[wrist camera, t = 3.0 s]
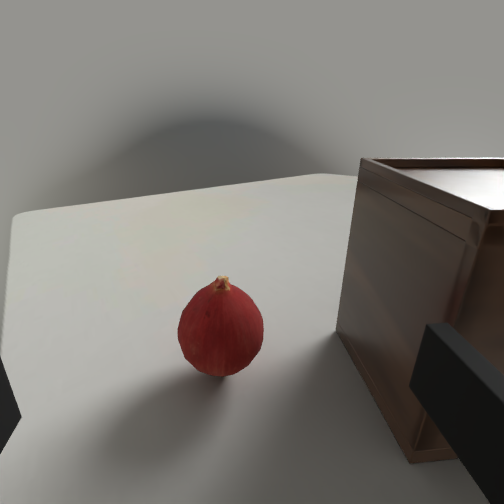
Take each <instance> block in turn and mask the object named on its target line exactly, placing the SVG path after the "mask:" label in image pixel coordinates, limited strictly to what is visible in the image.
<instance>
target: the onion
mask: <svg viewBox="0 0 504 504" xmlns="http://www.w3.org/2000/svg"><path fill="white" fill-rule="evenodd" d="M263 332H264V328H263V319H262V316H261V313H260V311H259V310H258V308H257V306H256V305H255V303H254V302H253V300H252V299H251V298H250V296H249V295H247V294H246V293H245V292H243V291H242V290H241V289H239V288H238V287H236V286H234V285H231V284H230V283H229V280H228V277H227V276H218V277H217V278H216V280H215V281H214V282H212V283H211V284H210V285H208V286H206V287H204V288H202V289H201V290H199V291H198V292H197V293H196V294H195V295H194V296H193V298H192V299H191V300H190V302H189V303H188V305H187V306H186V307H185V309H184V310H183V312H182V315H181V318H180V322H179V326H178V341H179V343H180V346H181V349H182V352H183V354H184V357H185V359H186V360H187V361H189V362H190V363H191V364H192V365H193V366H194V367H195V368H196V369H197V370H198V371H200V372H203V373H205V374H208V375H212V376H221V377H224V376H228V375H233V374H235V373H237V372H239V371H241V370H242V369H244V368H245V367H247V366H248V365H249V364H250V363H251V361H252V360H253V359H254V357H255V356H256V355H257V353H258V352H259V351H260V349H261V345H262V342H263Z"/></svg>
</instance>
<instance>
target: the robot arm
mask: <svg viewBox="0 0 504 504" xmlns="http://www.w3.org/2000/svg"><path fill="white" fill-rule="evenodd" d="M409 388H410V389H411V391H412V392H413V394H414V395H415V396H416V398H417V399H418V401H419V402H420V404H421V405H422V406H423V408H424V409H425V411H426V412H427V414H428V415H429V416H430V418H431V419H432V421H433V422H434V424H435V425H436V426H437V428H438V429H439V431H440V432H441V434H442V435H443V436H444V438H445V439H446V441H447V442H448V444H449V445H450V446H451V448H452V449H453V451H454V452H455V454H456V455H457V456H458V458H459V459H460V461H461V462H462V464H463V465H464V466H465V468H466V469H467V471H468V472H469V474H470V475H471V476H472V478H473V479H474V481H475V482H476V484H477V485H478V487H479V488H480V489H481V491H482V492H483V494H484V495H485V497H486V498H487V499H488V501H489V502H490V504H504V375H503V374H502V373H501V372H500V371H499V370H498V369H497V368H496V367H495V366H493V365H492V364H491V363H490V362H489V361H488V360H487V359H486V358H485V357H484V356H483V355H482V354H481V353H480V352H478V351H477V350H476V349H475V348H474V347H473V346H472V345H471V344H470V343H469V342H468V341H467V340H466V339H465V338H463V337H462V336H461V335H460V334H459V333H458V332H457V331H456V330H455V329H454V328H453V327H452V326H451V325H450V324H448V323H433V324H426V326H425V330H424V333H423V337H422V341H421V344H420V348H419V351H418V355H417V358H416V362H415V365H414V369H413V372H412V376H411V380H410V383H409ZM20 419H21V414H20V411H19V408H18V405H17V402H16V400H15V397H14V394H13V391H12V388H11V386H10V383H9V380H8V377H7V374H6V371H5V369H4V366H3V363H2V360H1V357H0V454H1V452H2V450H3V448H4V447H5V445H6V443H7V442H8V440H9V438H10V436H11V435H12V433H13V431H14V429H15V428H16V426H17V424H18V423H19V421H20Z"/></svg>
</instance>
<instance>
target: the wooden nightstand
mask: <svg viewBox="0 0 504 504" xmlns="http://www.w3.org/2000/svg"><path fill="white" fill-rule="evenodd" d="M433 323H448V324H450V325H451V326H452V327H453V328H454V329H455V330H456V331H457V332H458V333H459V334H460V335H461V336H462V337H463V338H465V339H466V340H467V341H468V342H469V343H470V344H471V345H472V346H473V347H474V348H475V349H476V350H477V351H478V352H480V353H481V354H482V355H483V356H484V357H485V358H486V359H487V360H488V361H489V362H490V363H491V364H492V365H493V366H495V367H496V368H497V369H498V370H499V371H500V372H501V373H502V374H503V375H504V158H361V161H360V168H359V175H358V181H357V188H356V195H355V201H354V208H353V215H352V222H351V229H350V236H349V242H348V249H347V256H346V263H345V270H344V277H343V283H342V290H341V297H340V304H339V311H338V318H337V324H336V331H337V333H338V335H339V337H340V338H341V340H342V342H343V344H344V346H345V347H346V349H347V351H348V353H349V355H350V356H351V358H352V360H353V362H354V364H355V365H356V367H357V369H358V371H359V373H360V375H361V376H362V378H363V380H364V382H365V384H366V385H367V387H368V389H369V391H370V393H371V394H372V396H373V398H374V400H375V402H376V403H377V405H378V407H379V409H380V411H381V413H382V414H383V416H384V418H385V420H386V422H387V423H388V425H389V427H390V429H391V431H392V432H393V434H394V436H395V438H396V440H397V441H398V443H399V445H400V447H401V449H402V451H403V452H404V454H405V456H406V458H407V460H408V461H409V463H410V464H411V463H420V462H429V461H438V460H447V459H456V458H458V456H457V455H456V454H455V452H454V451H453V449H452V448H451V446H450V445H449V444H448V442H447V441H446V439H445V438H444V436H443V435H442V434H441V432H440V431H439V429H438V428H437V426H436V425H435V424H434V422H433V421H432V419H431V418H430V416H429V415H428V414H427V412H426V411H425V409H424V408H423V406H422V405H421V404H420V402H419V401H418V399H417V398H416V396H415V395H414V394H413V392H412V391H411V389H410V388H409V383H410V380H411V376H412V372H413V369H414V365H415V362H416V358H417V355H418V351H419V348H420V344H421V341H422V337H423V333H424V330H425V326H426V324H433Z"/></svg>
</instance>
